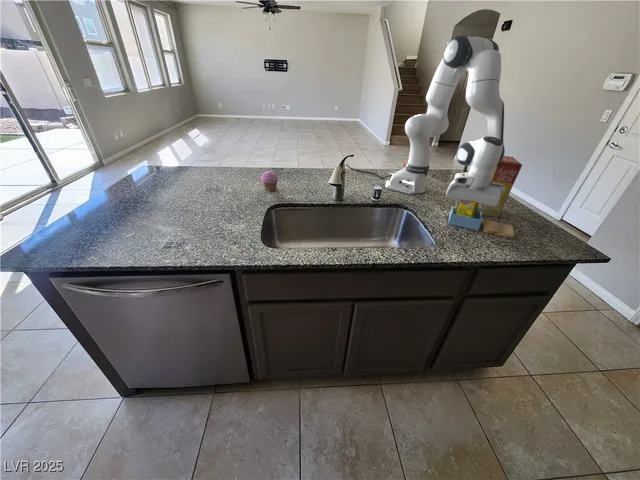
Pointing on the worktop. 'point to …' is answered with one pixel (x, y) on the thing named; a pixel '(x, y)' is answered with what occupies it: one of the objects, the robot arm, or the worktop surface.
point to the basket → (465, 220)
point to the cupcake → (269, 180)
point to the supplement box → (467, 208)
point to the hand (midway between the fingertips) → (466, 210)
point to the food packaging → (506, 176)
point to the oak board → (498, 228)
